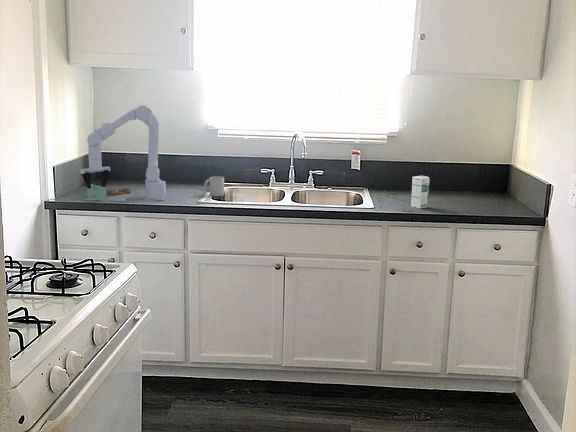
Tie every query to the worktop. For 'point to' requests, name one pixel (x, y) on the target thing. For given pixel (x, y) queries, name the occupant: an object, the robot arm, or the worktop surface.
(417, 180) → the syrup box
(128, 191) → the brown notched bar
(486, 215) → the worktop surface
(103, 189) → the teal bar
